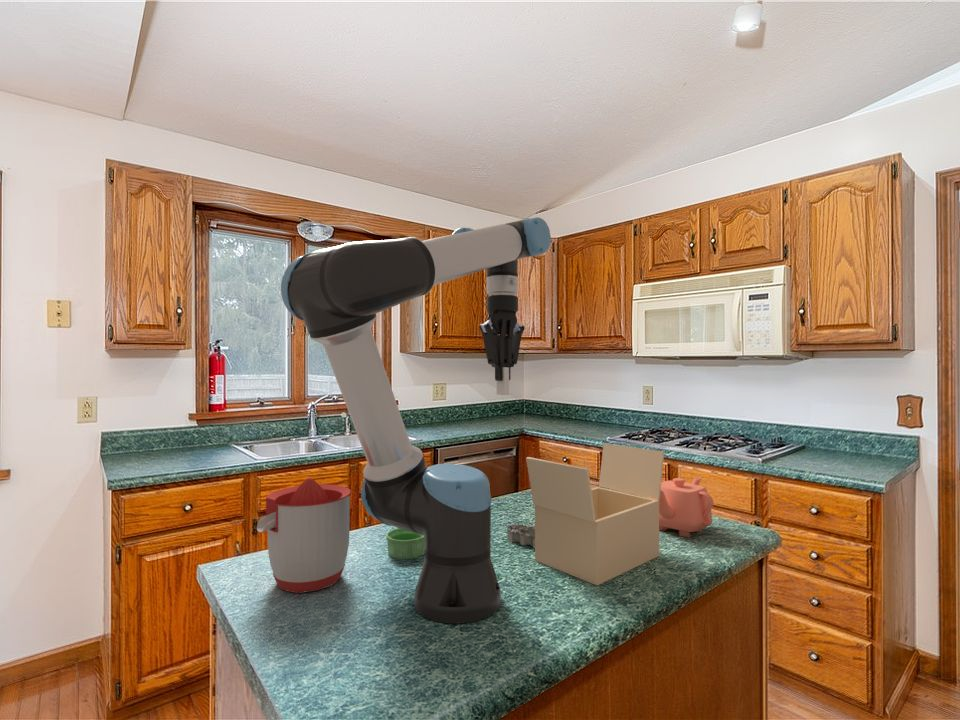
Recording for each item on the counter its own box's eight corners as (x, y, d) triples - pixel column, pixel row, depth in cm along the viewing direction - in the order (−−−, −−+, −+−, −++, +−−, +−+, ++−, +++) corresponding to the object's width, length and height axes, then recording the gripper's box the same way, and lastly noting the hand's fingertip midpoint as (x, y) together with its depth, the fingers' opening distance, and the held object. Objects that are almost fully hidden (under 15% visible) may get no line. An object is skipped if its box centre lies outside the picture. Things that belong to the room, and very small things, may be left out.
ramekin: (425, 560, 110) (424, 540, 110) (382, 561, 109) (382, 540, 109) (428, 545, 119) (428, 526, 119) (389, 546, 118) (389, 526, 118)
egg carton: (557, 543, 120) (557, 525, 120) (539, 552, 115) (539, 533, 115) (521, 532, 127) (521, 516, 127) (502, 540, 122) (502, 523, 122)
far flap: (663, 451, 113) (664, 451, 113) (603, 442, 125) (605, 443, 125) (658, 499, 111) (659, 499, 112) (598, 486, 123) (600, 486, 124)
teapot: (654, 539, 122) (654, 485, 122) (642, 517, 138) (642, 470, 138) (721, 542, 120) (721, 487, 120) (700, 520, 136) (700, 472, 136)
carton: (597, 585, 97) (596, 521, 97) (535, 560, 109) (534, 504, 109) (659, 556, 111) (658, 500, 111) (598, 536, 123) (597, 486, 123)
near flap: (595, 520, 97) (593, 522, 97) (535, 503, 109) (533, 504, 108) (588, 468, 96) (586, 469, 95) (527, 456, 107) (525, 457, 107)
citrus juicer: (245, 581, 99) (245, 478, 99) (331, 558, 111) (330, 466, 111) (272, 611, 87) (272, 494, 87) (365, 582, 99) (364, 478, 99)
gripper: (492, 291, 115) (493, 396, 115) (532, 296, 124) (533, 394, 124) (471, 295, 121) (471, 395, 121) (511, 299, 129) (511, 392, 129)
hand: (502, 394), depth 122 cm, fingers closed
